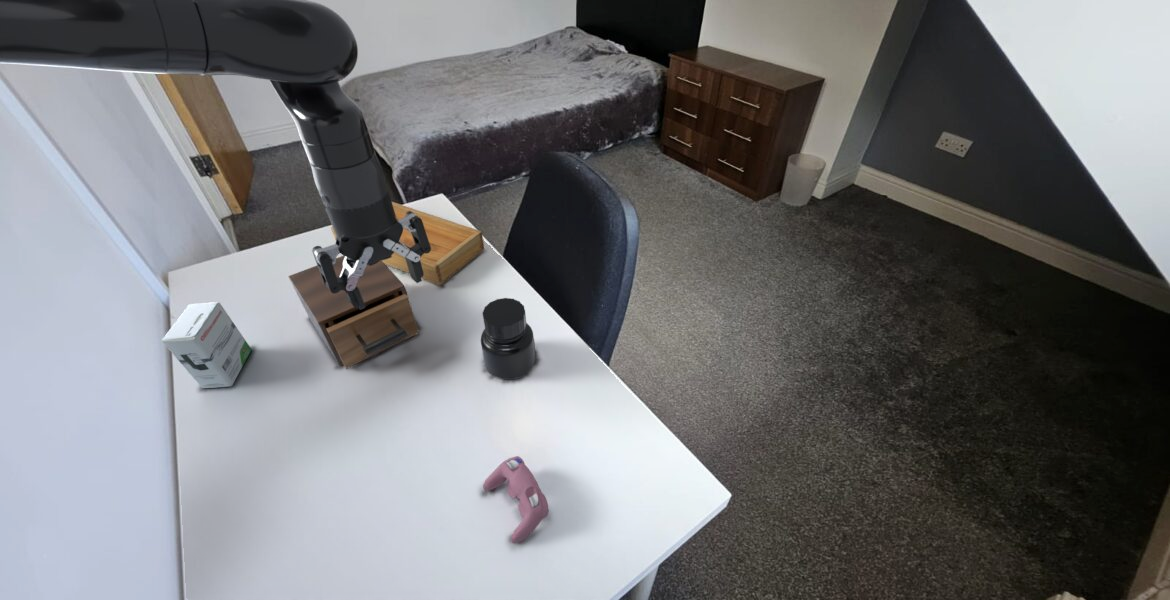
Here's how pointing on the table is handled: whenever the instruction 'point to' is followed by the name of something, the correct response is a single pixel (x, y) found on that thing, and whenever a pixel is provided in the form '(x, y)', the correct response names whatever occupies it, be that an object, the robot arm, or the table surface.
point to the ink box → (208, 344)
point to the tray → (438, 245)
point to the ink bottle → (507, 339)
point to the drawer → (372, 328)
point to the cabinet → (341, 295)
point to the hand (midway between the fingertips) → (389, 292)
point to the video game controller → (520, 494)
